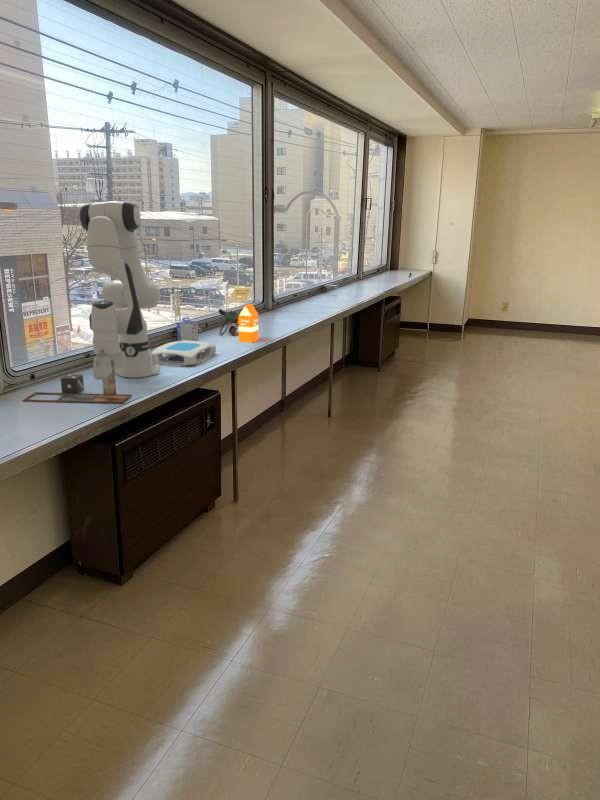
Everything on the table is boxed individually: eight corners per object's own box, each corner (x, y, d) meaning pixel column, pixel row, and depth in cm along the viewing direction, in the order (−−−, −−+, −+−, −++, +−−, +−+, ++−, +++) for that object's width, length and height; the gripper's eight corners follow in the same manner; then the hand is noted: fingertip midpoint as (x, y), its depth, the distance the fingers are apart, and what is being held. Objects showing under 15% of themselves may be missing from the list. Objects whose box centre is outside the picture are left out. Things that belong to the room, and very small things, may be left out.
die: (68, 389, 228) (67, 373, 226) (84, 389, 228) (82, 374, 226) (62, 393, 222) (60, 378, 221) (78, 394, 222) (76, 378, 220)
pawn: (105, 392, 218) (102, 356, 214) (118, 392, 218) (116, 356, 214) (101, 396, 214) (98, 359, 210) (114, 396, 214) (111, 359, 210)
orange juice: (238, 342, 320) (238, 304, 314) (245, 339, 328) (245, 302, 322) (251, 343, 318) (251, 305, 312) (258, 340, 326) (258, 303, 320)
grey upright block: (194, 343, 314) (193, 316, 310) (199, 345, 310) (198, 317, 305) (177, 345, 308) (176, 317, 304) (181, 347, 304) (180, 319, 300)
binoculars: (231, 343, 334) (245, 320, 332) (210, 330, 329) (223, 307, 327) (228, 338, 347) (241, 316, 345) (208, 326, 342) (221, 303, 340)
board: (35, 393, 222) (35, 392, 221) (131, 395, 221) (131, 394, 221) (22, 401, 212) (22, 400, 212) (123, 403, 212) (123, 402, 211)
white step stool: (149, 364, 270) (148, 350, 268) (177, 351, 296) (176, 339, 294) (191, 367, 265) (191, 354, 263) (216, 354, 291) (216, 342, 289)
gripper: (105, 354, 201) (108, 393, 205) (123, 342, 220) (126, 378, 224) (86, 353, 201) (90, 393, 205) (107, 341, 220) (109, 377, 225)
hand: (109, 385), depth 215 cm, fingers closed on pawn, 4 cm apart
